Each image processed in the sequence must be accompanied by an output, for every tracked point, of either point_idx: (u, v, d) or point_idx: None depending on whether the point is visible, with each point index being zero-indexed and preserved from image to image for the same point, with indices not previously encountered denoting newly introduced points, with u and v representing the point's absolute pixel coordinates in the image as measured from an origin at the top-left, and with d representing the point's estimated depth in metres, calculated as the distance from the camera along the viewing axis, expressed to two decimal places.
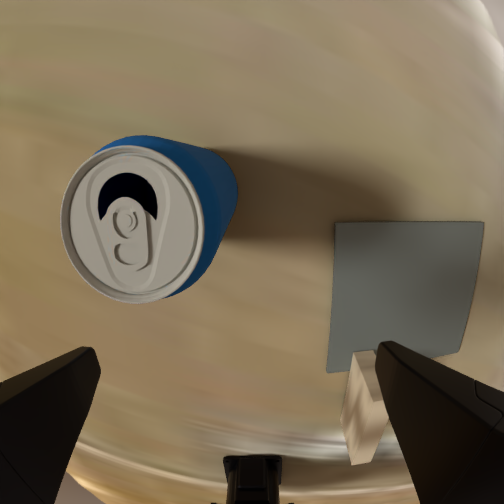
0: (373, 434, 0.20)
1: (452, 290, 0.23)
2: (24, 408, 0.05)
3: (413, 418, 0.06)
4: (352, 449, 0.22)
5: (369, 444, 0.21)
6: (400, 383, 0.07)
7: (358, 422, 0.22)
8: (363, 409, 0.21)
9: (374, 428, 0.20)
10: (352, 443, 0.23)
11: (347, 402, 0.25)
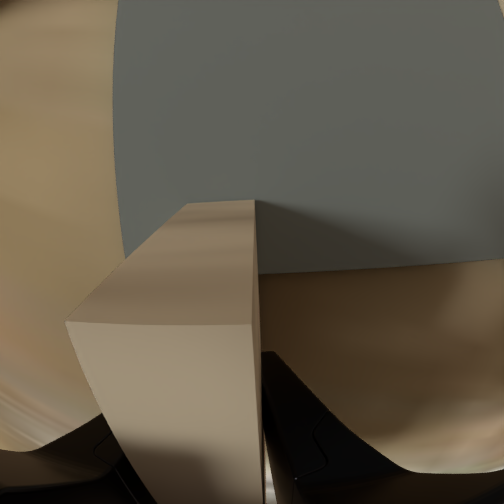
0: None
1: (468, 57, 0.07)
2: None
3: (269, 438, 0.06)
4: None
5: None
6: (263, 398, 0.07)
7: None
8: None
9: (202, 500, 0.04)
10: None
11: None
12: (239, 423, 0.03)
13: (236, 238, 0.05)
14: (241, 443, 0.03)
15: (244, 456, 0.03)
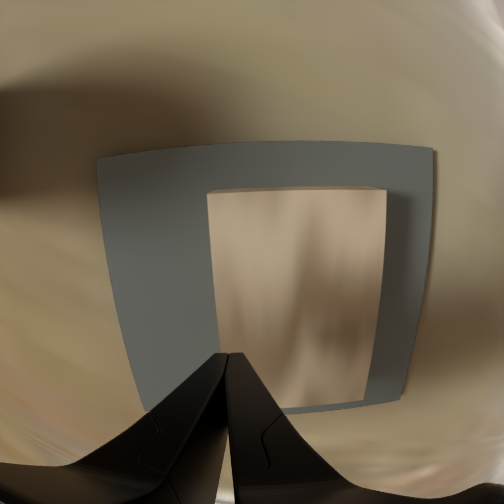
0: None
1: None
2: (192, 439, 0.05)
3: None
4: (346, 378, 0.12)
5: None
6: None
7: (342, 305, 0.11)
8: (351, 253, 0.10)
9: None
10: (336, 373, 0.12)
11: (245, 339, 0.11)
12: None
13: (308, 186, 0.11)
14: None
15: None
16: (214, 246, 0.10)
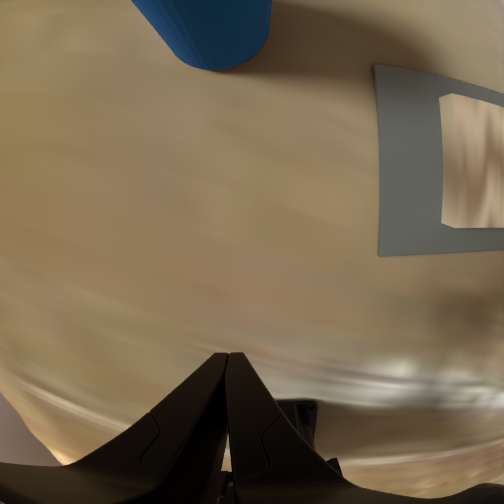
0: None
1: None
2: (192, 439, 0.05)
3: None
4: None
5: None
6: None
7: (501, 160, 0.16)
8: (501, 134, 0.15)
9: None
10: (500, 203, 0.17)
11: (467, 173, 0.16)
12: None
13: None
14: None
15: None
16: (456, 118, 0.15)
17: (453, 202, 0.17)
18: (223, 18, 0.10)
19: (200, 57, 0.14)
